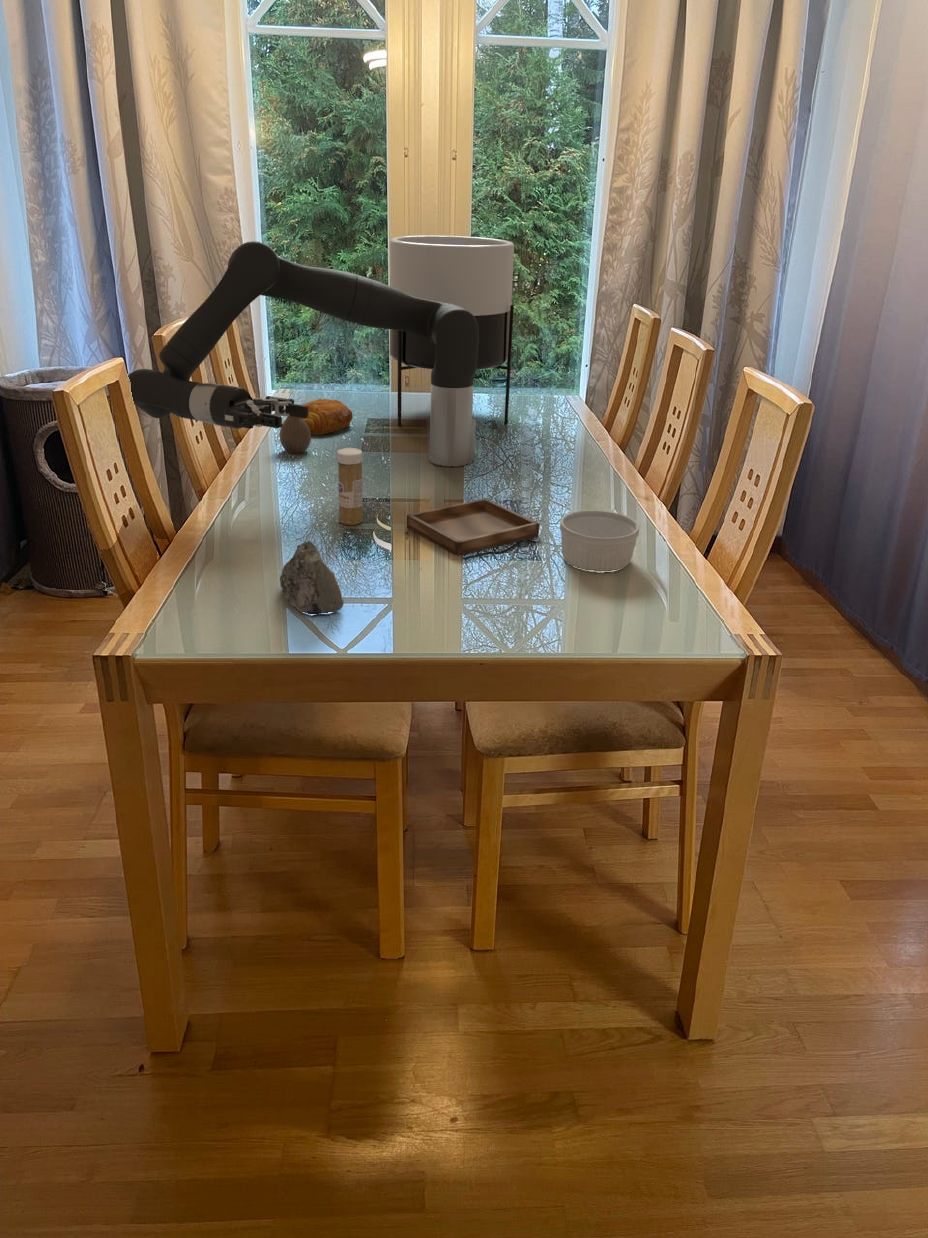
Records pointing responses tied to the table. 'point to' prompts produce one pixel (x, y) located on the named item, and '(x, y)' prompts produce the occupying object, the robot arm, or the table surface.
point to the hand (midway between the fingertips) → (294, 417)
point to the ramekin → (598, 539)
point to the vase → (295, 435)
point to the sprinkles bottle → (350, 485)
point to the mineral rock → (310, 582)
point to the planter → (456, 295)
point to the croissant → (327, 416)
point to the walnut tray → (472, 526)
